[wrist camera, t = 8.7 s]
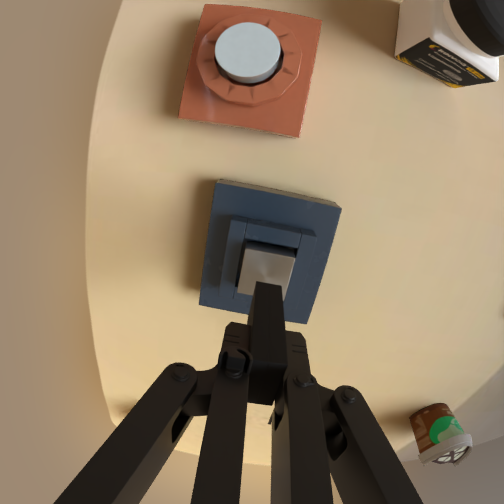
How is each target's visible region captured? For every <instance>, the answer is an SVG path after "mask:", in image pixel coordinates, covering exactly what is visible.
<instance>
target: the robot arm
mask: <svg viewBox="0 0 504 504" xmlns="http://www.w3.org/2000/svg"><path fill="white" fill-rule="evenodd" d="M306 347H307V346H306V340H305V338H304V337H303V335H302V334H301V333H299V332H293V331H286V330H285V318H284V306H283V295H282V286H281V285H275V284H270V283H264V282H259V281H256V284H255V289H254V293H253V298H252V302H251V307H250V311H249V316H248V322H247V325H246V324H241V323H235V322H230V323H229V324H228V325H227V326H226V329H225V333H224V338H223V343H222V348H221V352H220V354H219V358H218V364H217V365H216V366H215V367H214V368H212V369H209V370H205V371H196V370H195V369H194V367H192V366H190V365H189V364H185V363H173V364H170V365H169V366H167V367H166V368H165V369H164V371H163V372H162V373H161V374H160V376H159V377H158V378H157V379H156V380H155V382H154V383H153V384H152V385H151V387H150V388H149V389H148V390H147V391H146V393H145V394H144V395H143V396H142V397H141V399H140V400H139V401H138V402H137V404H136V405H135V406H134V407H133V408H132V410H131V411H130V412H129V413H128V415H127V416H126V417H125V418H124V419H123V421H122V422H121V423H120V424H119V425H118V427H117V428H116V429H115V430H114V431H113V433H112V434H111V435H110V436H109V438H108V439H107V440H106V441H105V442H104V444H103V445H102V446H101V447H100V448H99V450H98V451H97V452H96V453H95V454H94V456H93V457H92V458H91V459H90V461H89V462H88V463H87V464H86V465H85V467H84V468H83V469H82V470H81V471H80V472H79V474H78V475H77V476H76V477H75V478H74V480H73V481H72V482H71V483H70V484H69V486H68V487H67V488H66V489H65V490H64V492H63V493H62V494H61V495H60V496H59V498H58V499H57V500H56V501H55V502H54V504H139V503H140V501H141V499H142V498H143V496H144V495H145V493H146V492H147V490H148V489H149V487H150V486H151V484H152V483H153V481H154V479H155V478H156V476H157V475H158V473H159V472H160V470H161V469H162V467H163V465H164V464H165V462H166V461H167V459H168V457H169V456H170V454H171V452H172V451H173V449H174V448H175V446H176V445H177V443H178V441H179V440H180V438H181V436H182V435H183V433H184V432H185V430H186V428H187V427H188V425H189V423H190V422H191V420H192V418H193V416H205V415H207V420H206V425H205V431H204V436H203V441H202V446H201V451H200V456H199V462H198V467H197V472H196V477H195V483H194V489H193V493H192V499H191V504H239V498H240V487H241V474H242V463H243V450H244V438H245V425H246V413H247V402H248V403H255V404H263V405H271V406H272V405H273V402H274V400H275V408H274V410H273V412H272V415H271V417H270V419H269V422H268V424H271V422H272V456H271V504H333V495H332V486H331V477H330V473H331V475H332V478H333V480H334V482H335V485H336V487H337V490H338V492H339V495H340V497H341V499H342V502H343V504H423V502H422V500H421V499H420V497H419V495H418V493H417V491H416V489H415V488H414V486H413V484H412V482H411V480H410V479H409V477H408V475H407V473H406V471H405V469H404V468H403V466H402V464H401V462H400V461H399V459H398V457H397V455H396V453H395V452H394V450H393V448H392V446H391V445H390V443H389V441H388V439H387V438H386V436H385V434H384V432H383V431H382V429H381V427H380V425H379V424H378V422H377V420H376V418H375V417H374V415H373V413H372V411H371V410H370V408H369V406H368V405H367V403H366V401H365V399H364V398H363V396H362V394H361V393H360V392H359V391H358V390H357V389H355V388H354V387H351V386H344V385H343V386H340V387H338V388H337V389H336V390H335V391H334V390H331V389H328V388H325V387H323V386H321V385H319V384H318V383H317V381H316V378H315V377H314V376H313V375H312V374H311V372H310V365H309V359H308V354H307V348H306Z"/></svg>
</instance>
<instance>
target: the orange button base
mask: <svg viewBox="0 0 504 504" xmlns="http://www.w3.org/2000/svg"><path fill="white" fill-rule="evenodd" d="M247 22H250V23H257V24H261V25H263V26H265V27H267V28H269V29H270V30H271V31H272V32H273V33H274V34H275V35H276V36H277V38H278V40H279V43H280V57H279V63H278V66H277V68H276V70H275V71H274V72H273V74H272V75H270V76H269V77H268V78H266V79H265V80H263V81H260V82H256V83H241V82H238V81H235V80H233V79H231V78H230V77H228V76H227V75H226V74H225V73H224V71H223V70H222V68H221V66H220V65H219V63H218V62H217V59H216V56H215V45H216V42H217V40H218V38H219V36H220V35H221V34H222V33H223V32H224V31H225V30H226V29H228V28H229V27H231V26H233V25H236V24H239V23H247ZM321 24H322V20H318V19H314V18H310V17H305V16H301V15H296V14H291V13H286V12H280V11H274V10H267V9H260V8H252V7H243V6H232V5H216V4H205V5H204V8H203V12H202V15H201V19H200V22H199V26H198V30H197V33H196V37H195V41H194V45H193V49H192V53H191V57H190V62H189V66H188V70H187V75H186V79H185V84H184V89H183V94H182V99H181V104H180V109H179V115H178V118H179V119H183V120H187V121H193V122H202V123H210V124H217V125H224V126H231V127H237V128H243V129H249V130H255V131H260V132H266V133H271V134H276V135H281V136H285V137H290V138H299V137H300V133H301V128H302V124H303V119H304V114H305V109H306V104H307V99H308V93H309V88H310V83H311V78H312V73H313V67H314V62H315V57H316V51H317V46H318V40H319V35H320V29H321Z"/></svg>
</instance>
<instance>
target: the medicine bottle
mask: <svg viewBox="0 0 504 504" xmlns="http://www.w3.org/2000/svg"><path fill="white" fill-rule="evenodd" d="M501 56H504V0H403V1H402V2H401V3H400V10H399V21H398V31H397V40H396V48H395V58H396V59H397V60H400V61H402V62H404V63H406V64H408V65H411V66H413V67H415V68H417V69H419V70H421V71H423V72H425V73H427V74H429V75H431V76H433V77H435V78H436V79H438V80H440V81H442V82H444V83H445V84H447V85H449V86H451V87H452V88H459V87H464V86H470V85H476V84H482V83H489V82H496V81H498V79H499V57H501Z"/></svg>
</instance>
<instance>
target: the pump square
mask: <svg viewBox="0 0 504 504" xmlns="http://www.w3.org/2000/svg"><path fill="white" fill-rule="evenodd" d="M294 262H295V255H294V250H293V249H288V248H283V247H278V246H272V245H267V244H262V243H257V242H252V241H247V243H246V248H245V253H244V258H243V263H242V268H241V274H240V279H239V284H238V290H237V292H238V293H243V294H248V295H253V293H254V289H255V284H256V281H259V282H264V283H270V284H275V285H281V286H282V295H283V301H284V299H285V295H286V292H287V288H288V284H289V281H290V277H291V273H292V270H293V266H294Z"/></svg>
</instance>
